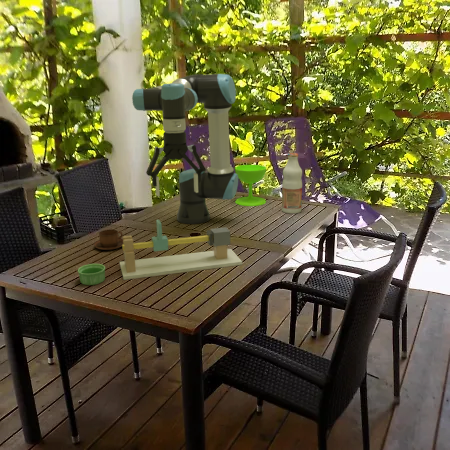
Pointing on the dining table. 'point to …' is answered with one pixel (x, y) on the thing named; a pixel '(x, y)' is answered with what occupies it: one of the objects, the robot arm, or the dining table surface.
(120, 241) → the cup and saucer
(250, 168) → the wineglass
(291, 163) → the fruit juice
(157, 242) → the sleeve
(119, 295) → the dining table surface
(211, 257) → the cord rig
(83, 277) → the ramekin
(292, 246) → the dining table surface
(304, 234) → the dining table surface
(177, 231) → the dining table surface
